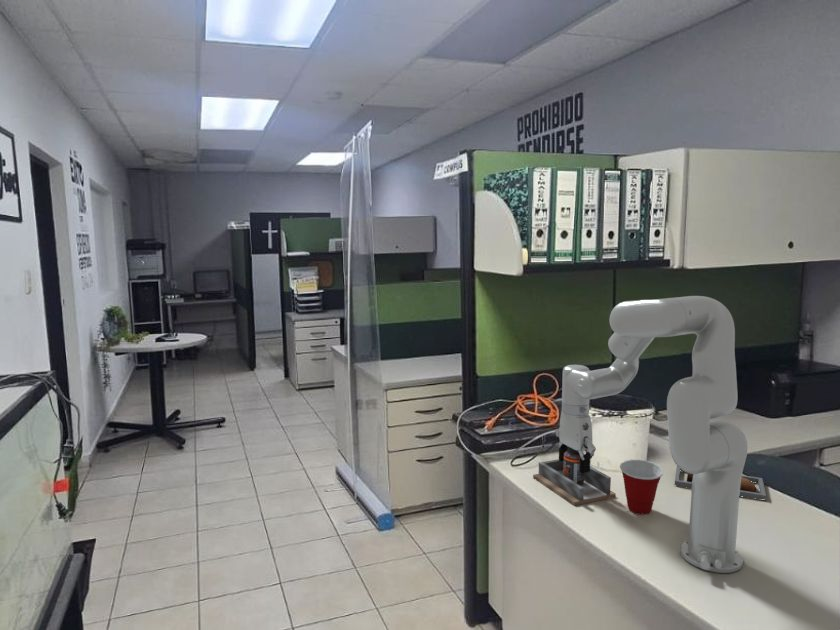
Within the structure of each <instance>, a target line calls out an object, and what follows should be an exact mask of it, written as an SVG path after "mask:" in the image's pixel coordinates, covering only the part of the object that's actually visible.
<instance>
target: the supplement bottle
mask: <svg viewBox="0 0 840 630" xmlns="http://www.w3.org/2000/svg"><path fill="white" fill-rule="evenodd" d="M567 447H568V448H567V451H566V452H565V453H564V469H563V475H564V476H565V477H567V478H569V479H570V480H572V481H573V482H575V483H577V484H578V485H580V486H582V485H583V484H584V473H580V472H579V464H580V459H581V457H580V454H579V452H578V451H576V450H574V449H572V448H571V447H569V446H567ZM581 448H583V447H581Z"/></svg>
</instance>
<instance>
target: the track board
mask: <svg viewBox="0 0 840 630" xmlns="http://www.w3.org/2000/svg"><path fill="white" fill-rule="evenodd" d="M563 469H564V461H559V458H558V459H552V460H546V461H542V462H538V473H536V474H535V473H534V474H533V475H532V478H533V479H534V480H535V479H536V480H535V481H537V482H538V483H540V484H541V485H543V486H544V487H545V488H548V489H549V490H550V491H551V492H553V493H554V494H556V495H558V497H561V498H562V499H563V500H564V501H566V502H568V503H569V504H570V505H572V506H573V507H575V506H579V505H583V504H584V505H585V504H588V503H593V502H597V501H598V502H599V501H602V500H607V499H612V498H616V497H617V495H616V494H617V493H615V492H614V491H612V490H611V484H612V483H611V482H612V481H611V480H612V478H611V476H608V475H607V474H606V473H604V472H602V471H600V470H598V469H596V468H594V467H593V466H591V465H590V471H589V472H586V473H584V484H583V485H582V486H580V485H578V484H577V483H575V482H573V481H572V480H570V479H569V478H567V477H565V476H564V475H563Z"/></svg>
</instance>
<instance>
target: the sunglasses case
mask: <svg viewBox="0 0 840 630" xmlns="http://www.w3.org/2000/svg"><path fill="white" fill-rule="evenodd" d="M692 479H693V474H690V473H687V477H686V481H687V482H692ZM755 486H756V483H753V482H751V481H749V480H747V479H745V478H743V477H741V484H740V490H742V491H748V492H755V493H757V486H756V487H755Z"/></svg>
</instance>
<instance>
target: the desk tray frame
mask: <svg viewBox="0 0 840 630" xmlns="http://www.w3.org/2000/svg"><path fill="white" fill-rule="evenodd" d="M680 470H681V469H680V468H679V467H678V466H677V465H676V470H675V476H674V485H676V486H675V487H679V486H682V487H681V488H685V487H687V488H686V489H691V488H692V482H690V481H687V480H680V476H679V475H681V472H680ZM681 471H683V470H681ZM742 477H743V478H745V479H747V480H749V481H752V482H756V483H755V484H757V483H758V484H759V485H758V484H757V485H758V489H760V491H759V492H756V493H755V492H748V491H742V490H740V496H743V497H742V498H745V497H749V498H748V499H751V498H756V499H755V500H757V499H765V500H766V499H767V495H766V490H765V486H764V480H763V477H757V476H749V475H744V474H742ZM674 485H673V486H674Z"/></svg>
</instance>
